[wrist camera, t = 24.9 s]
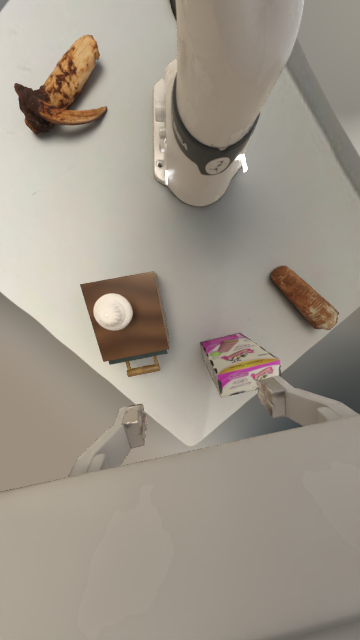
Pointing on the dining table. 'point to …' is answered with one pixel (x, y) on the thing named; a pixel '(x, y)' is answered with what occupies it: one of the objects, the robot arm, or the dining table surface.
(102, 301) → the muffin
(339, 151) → the dining table surface
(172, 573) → the robot arm
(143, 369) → the drawer
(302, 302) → the bread
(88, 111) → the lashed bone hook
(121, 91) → the dining table surface
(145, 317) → the cabinet
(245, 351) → the candy bar box
